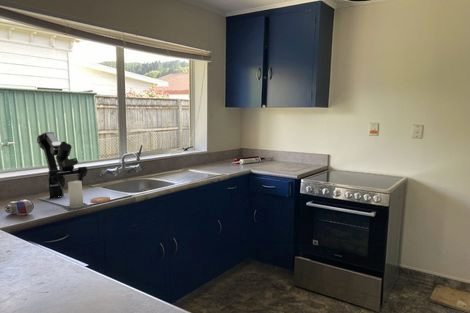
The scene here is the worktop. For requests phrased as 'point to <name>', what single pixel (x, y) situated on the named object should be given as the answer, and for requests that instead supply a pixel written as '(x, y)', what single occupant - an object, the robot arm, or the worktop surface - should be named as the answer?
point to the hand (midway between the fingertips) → (72, 186)
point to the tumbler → (75, 194)
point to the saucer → (100, 199)
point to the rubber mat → (76, 208)
